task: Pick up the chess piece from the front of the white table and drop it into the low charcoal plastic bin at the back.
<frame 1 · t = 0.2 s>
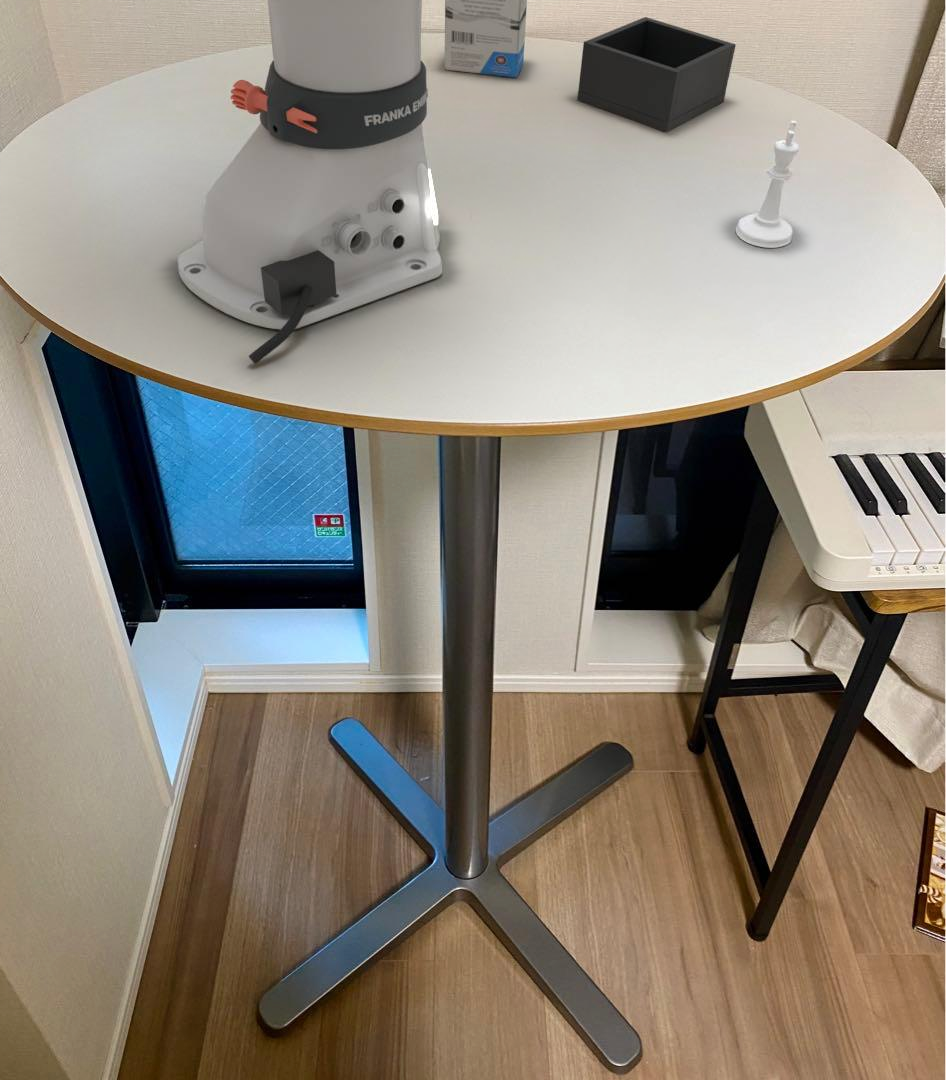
ink box: (483, 69, 114), on the table
chess piece: (762, 236, 88), on the table
bin: (650, 100, 109), on the table
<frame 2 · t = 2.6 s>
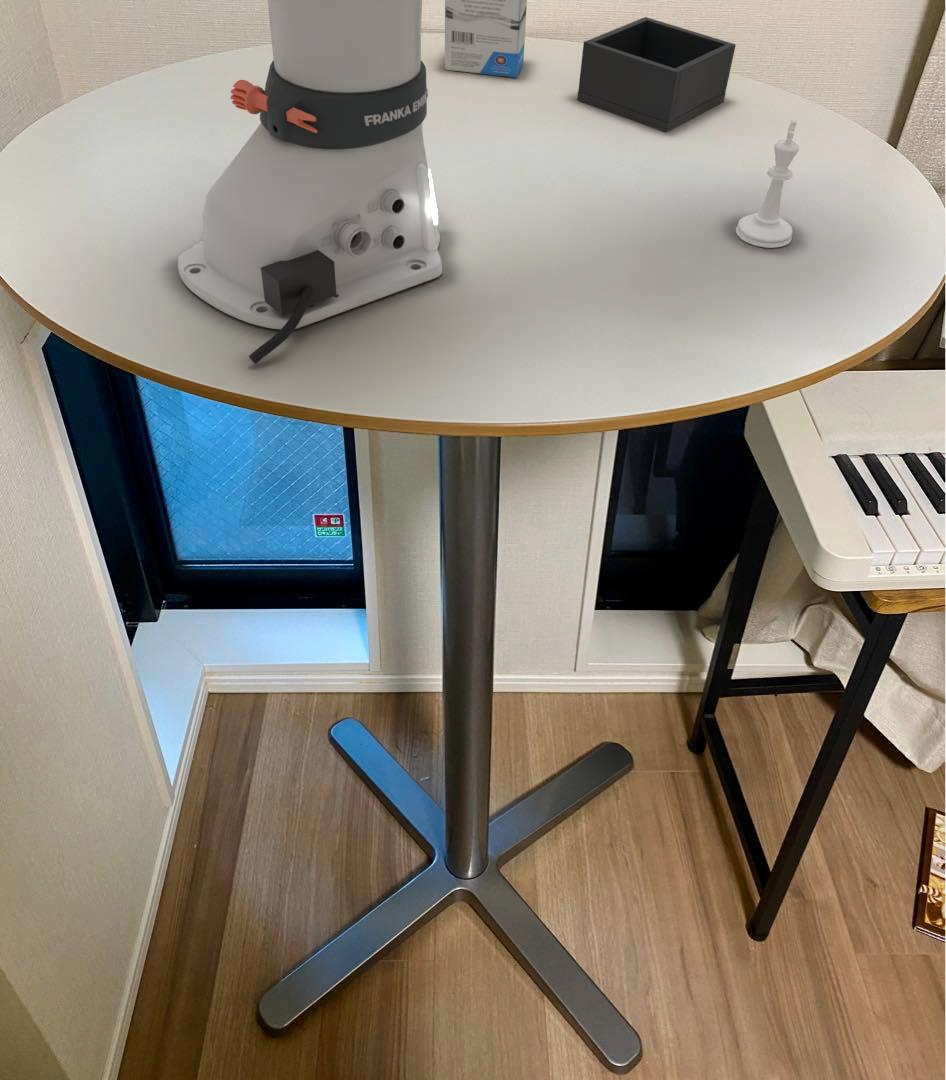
nothing on the table moved.
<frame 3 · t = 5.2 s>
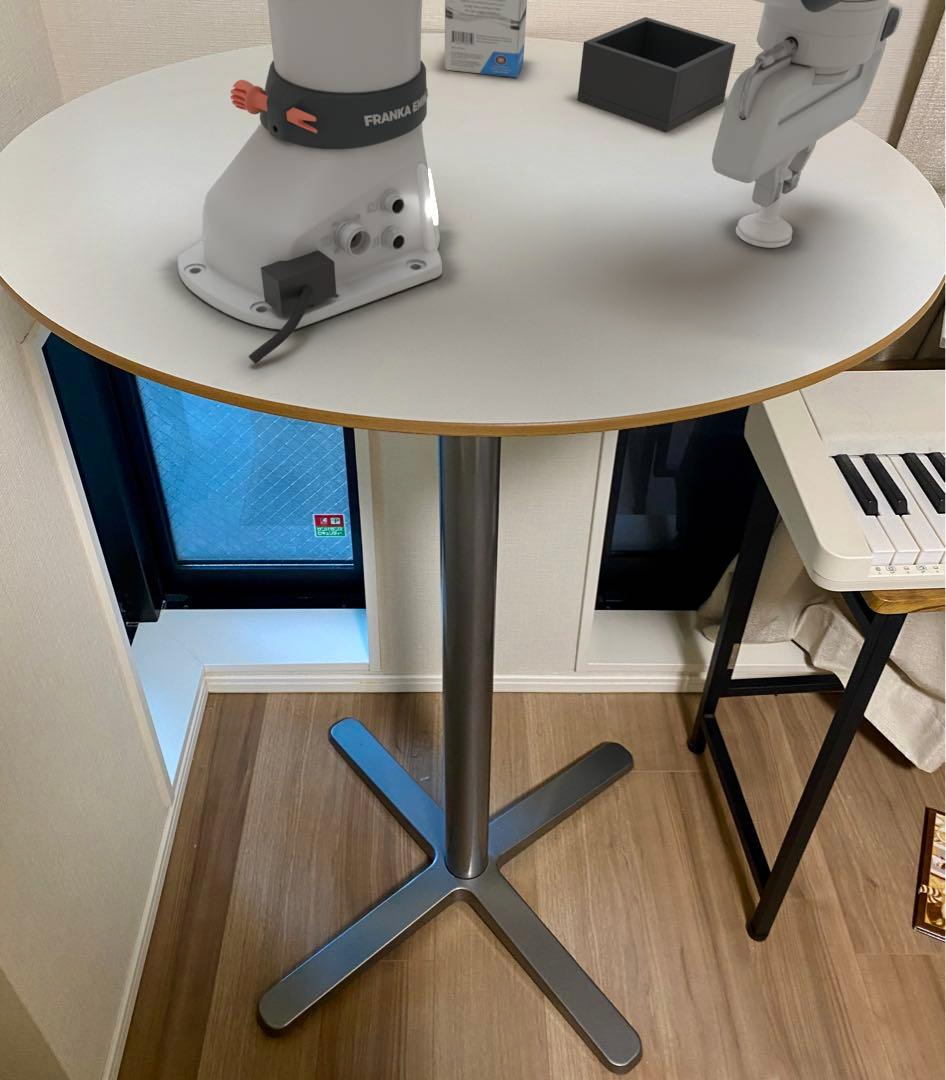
hand: (773, 196, 86), 4 cm above the table, tool pointing down, fingers closed on chess piece
chess piece: (762, 236, 88), on the table, touching gripper
everything else where it was.
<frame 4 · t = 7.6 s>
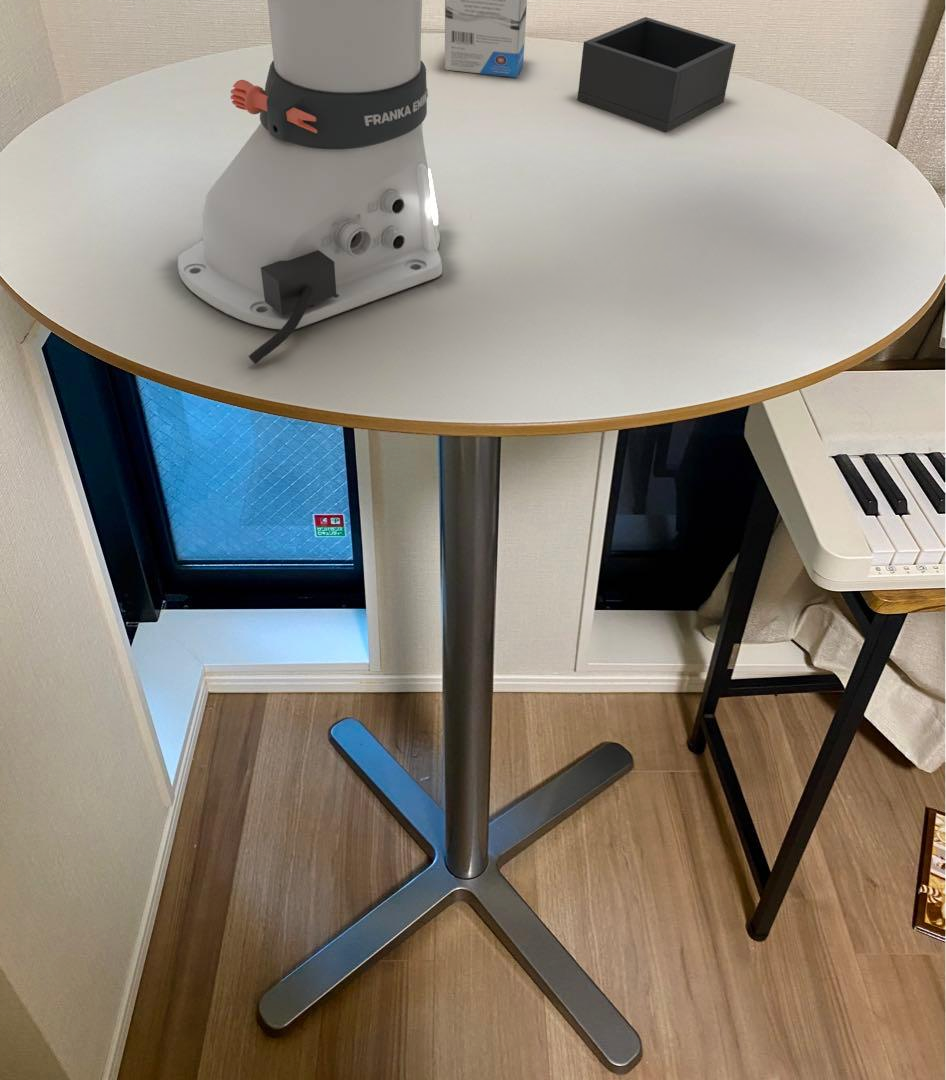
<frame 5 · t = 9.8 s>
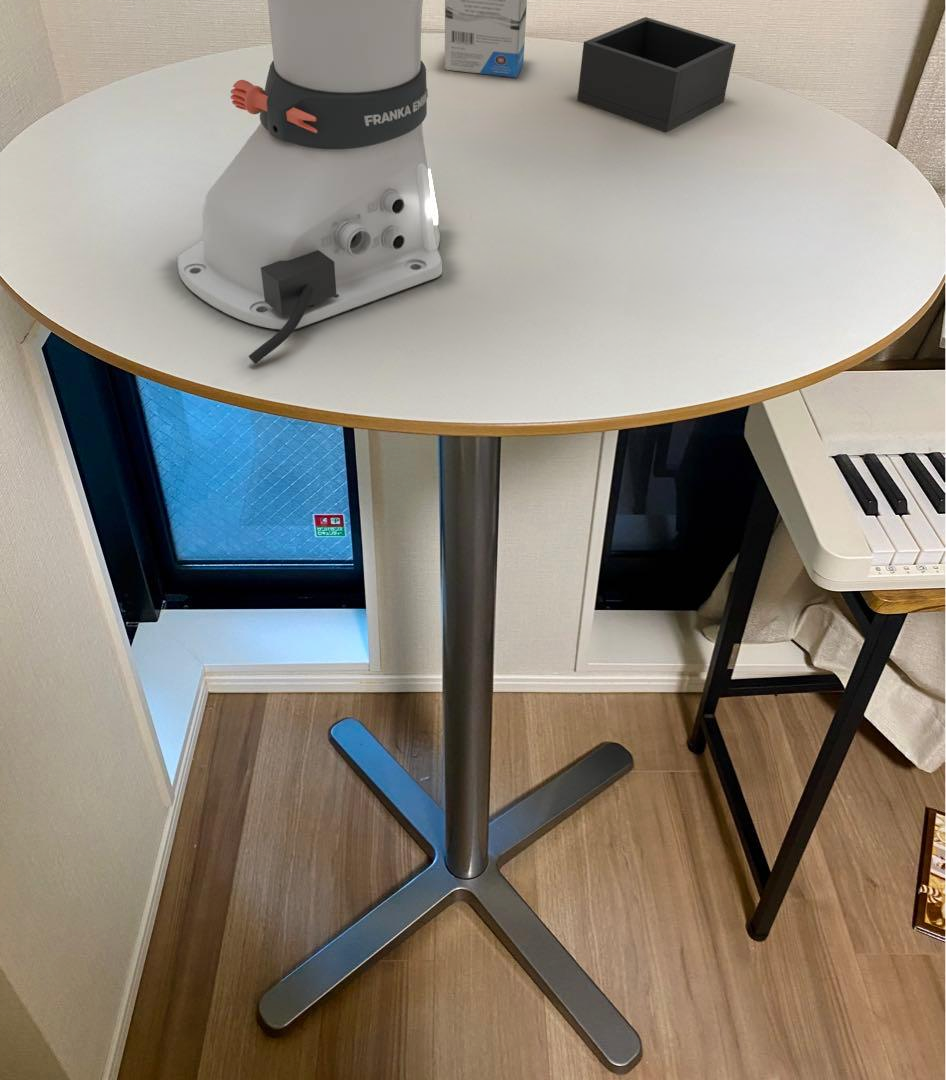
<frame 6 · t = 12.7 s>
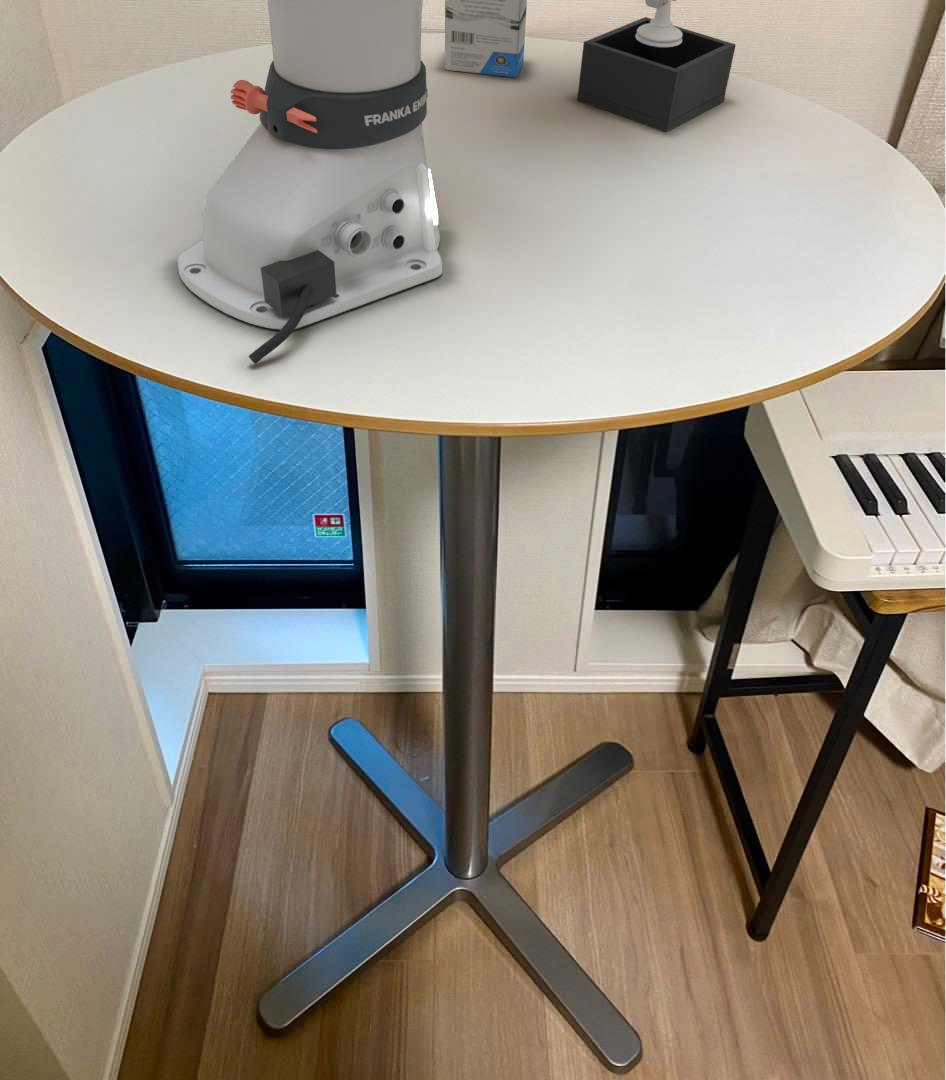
hand: (664, 2, 102), 10 cm above the table, tool pointing down, fingers closed on chess piece
chess piece: (658, 41, 105), point 6 cm above the table, touching gripper
everything else where it was.
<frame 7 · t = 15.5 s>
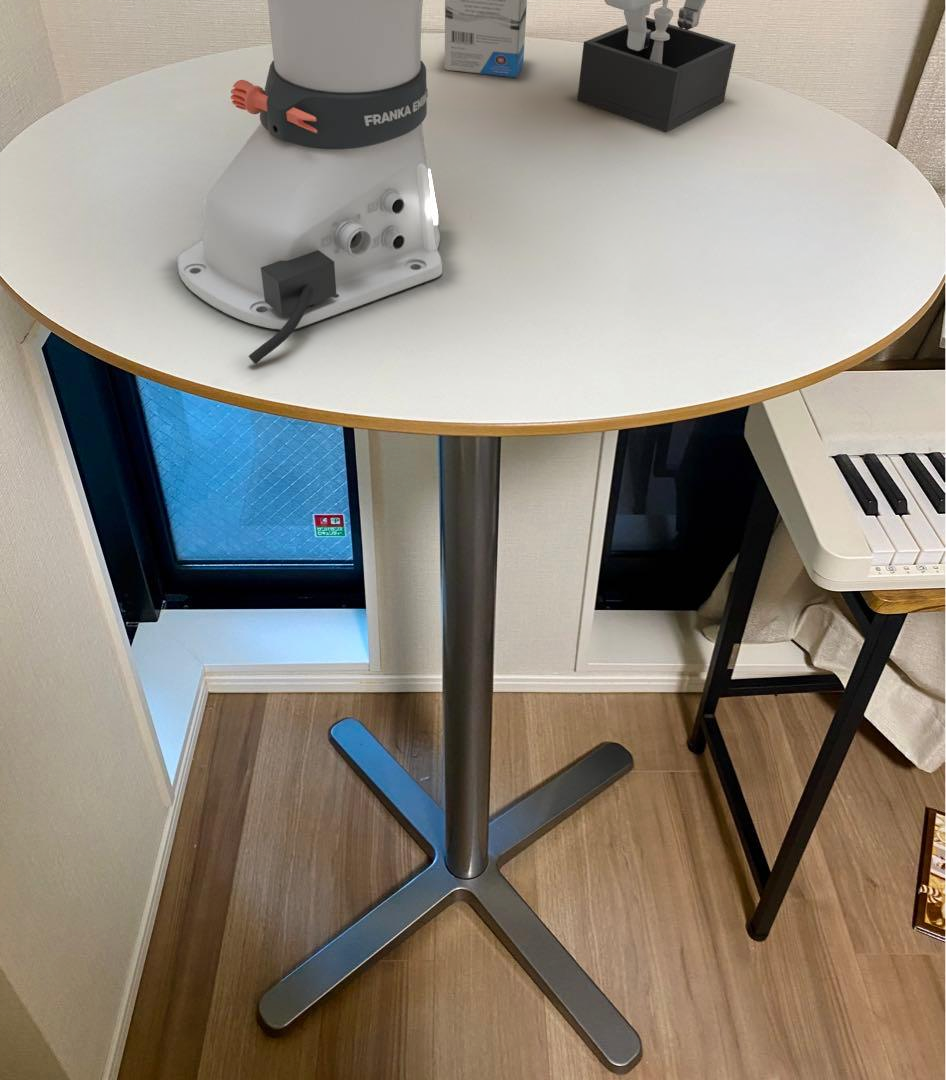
hand: (662, 37, 104), 7 cm above the table, tool pointing down, fingers open, 8 cm apart
chess piece: (650, 93, 108), point 1 cm above the table, touching bin
everything else where it was.
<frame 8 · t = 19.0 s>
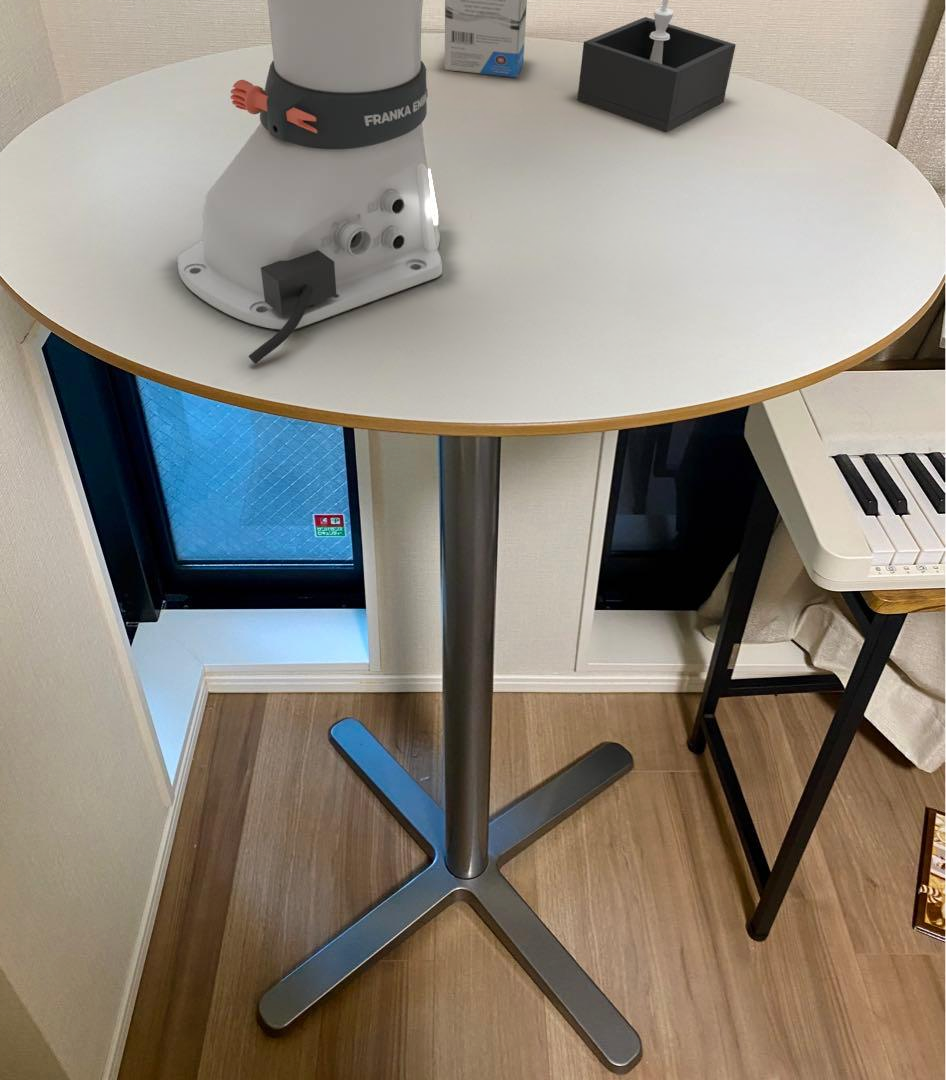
nothing on the table moved.
at the end: chess piece inside the target area in the bin (0.2 cm from its centre), point 0.8 cm above the bin's base; the gripper is holding nothing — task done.
